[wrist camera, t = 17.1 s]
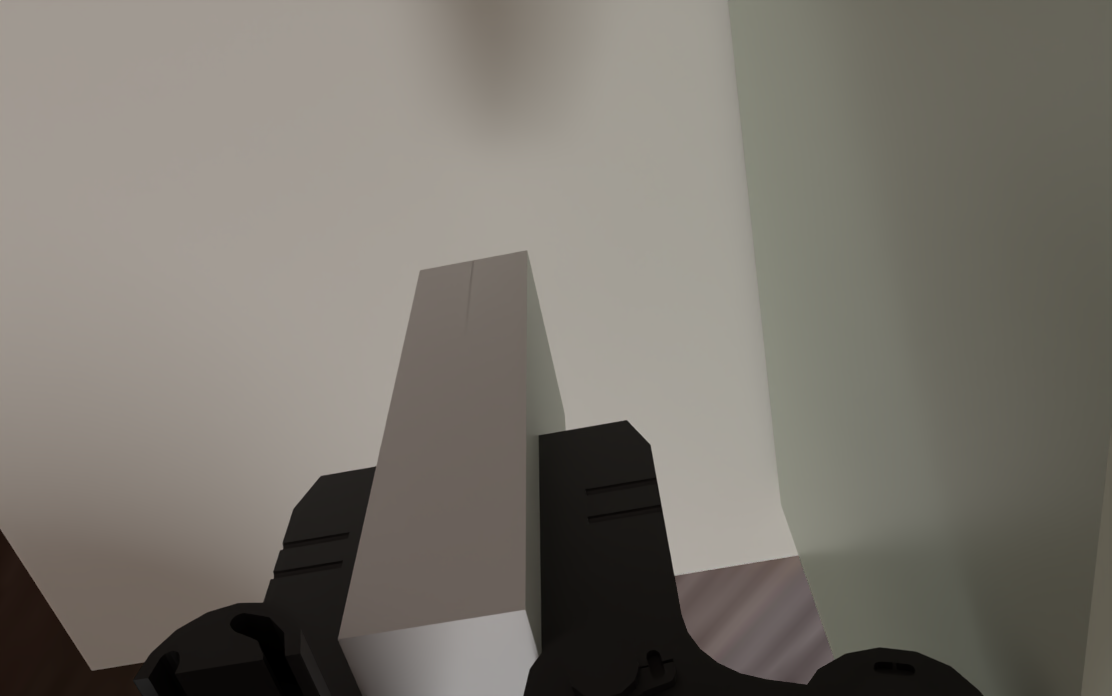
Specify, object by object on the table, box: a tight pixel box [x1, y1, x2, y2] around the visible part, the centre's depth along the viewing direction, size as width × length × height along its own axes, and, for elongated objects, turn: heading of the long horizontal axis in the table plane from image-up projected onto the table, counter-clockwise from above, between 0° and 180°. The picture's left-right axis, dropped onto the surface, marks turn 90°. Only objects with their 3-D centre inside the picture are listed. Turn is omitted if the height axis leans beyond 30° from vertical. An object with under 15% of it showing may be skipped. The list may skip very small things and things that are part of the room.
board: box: [0, 0, 798, 671], centre depth 17 cm, size 30×16×1 cm, turn 101°
